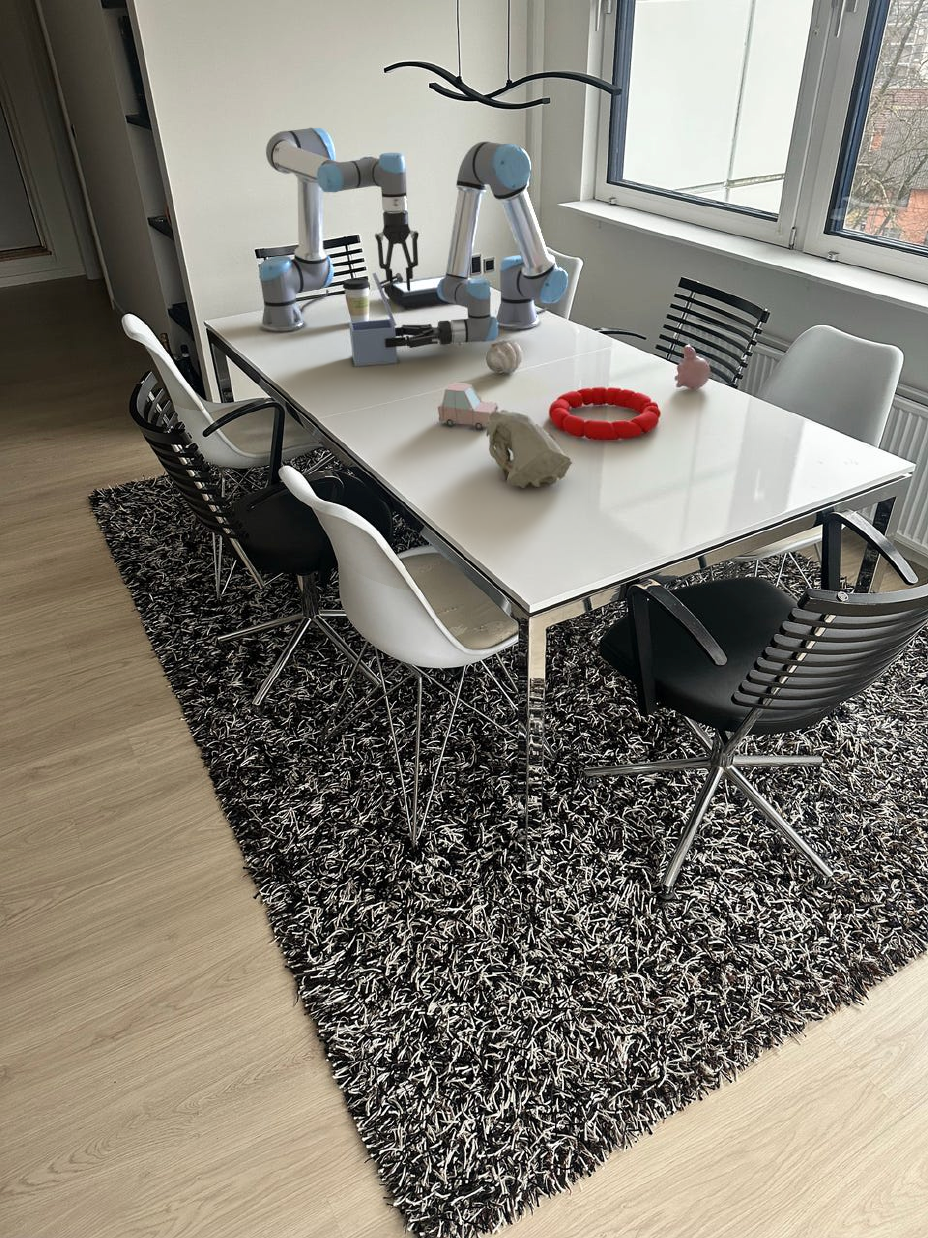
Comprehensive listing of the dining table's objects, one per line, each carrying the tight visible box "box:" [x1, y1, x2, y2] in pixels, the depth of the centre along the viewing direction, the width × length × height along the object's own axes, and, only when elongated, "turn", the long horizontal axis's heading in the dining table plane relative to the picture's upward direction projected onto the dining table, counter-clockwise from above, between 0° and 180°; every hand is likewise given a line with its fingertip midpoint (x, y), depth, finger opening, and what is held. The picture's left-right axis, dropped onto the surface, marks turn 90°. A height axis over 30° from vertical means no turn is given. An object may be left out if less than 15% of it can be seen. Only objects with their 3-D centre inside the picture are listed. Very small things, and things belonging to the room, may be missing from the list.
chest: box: [348, 318, 398, 367], centre depth 290 cm, size 14×10×11 cm
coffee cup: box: [342, 277, 371, 322], centre depth 323 cm, size 10×10×15 cm
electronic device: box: [383, 274, 470, 311], centre depth 349 cm, size 32×6×20 cm
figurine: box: [674, 344, 711, 390], centre depth 259 cm, size 9×11×12 cm
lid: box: [372, 272, 404, 327], centre depth 283 cm, size 15×10×8 cm
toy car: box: [437, 382, 499, 431], centre depth 243 cm, size 9×15×10 cm, turn 70°
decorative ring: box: [548, 386, 661, 442], centre depth 242 cm, size 7×30×30 cm
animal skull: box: [485, 409, 573, 489], centre depth 216 cm, size 17×25×20 cm
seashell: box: [485, 339, 523, 374], centre depth 276 cm, size 10×15×10 cm
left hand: (400, 290), depth 282 cm, fingers open, 5 cm apart
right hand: (383, 338), depth 290 cm, fingers closed on chest, 10 cm apart
